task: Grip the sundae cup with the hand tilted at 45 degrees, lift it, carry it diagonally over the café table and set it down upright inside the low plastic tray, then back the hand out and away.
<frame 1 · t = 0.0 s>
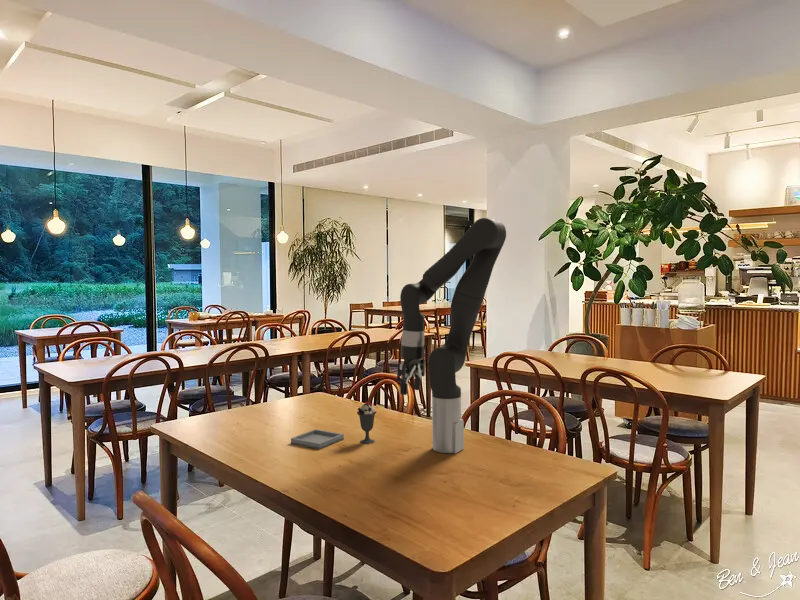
hand: (410, 392, 181), 17 cm above the table, tool pointing down, fingers open, 8 cm apart
tray: (317, 441, 185), on the table
sundae: (367, 442, 184), on the table
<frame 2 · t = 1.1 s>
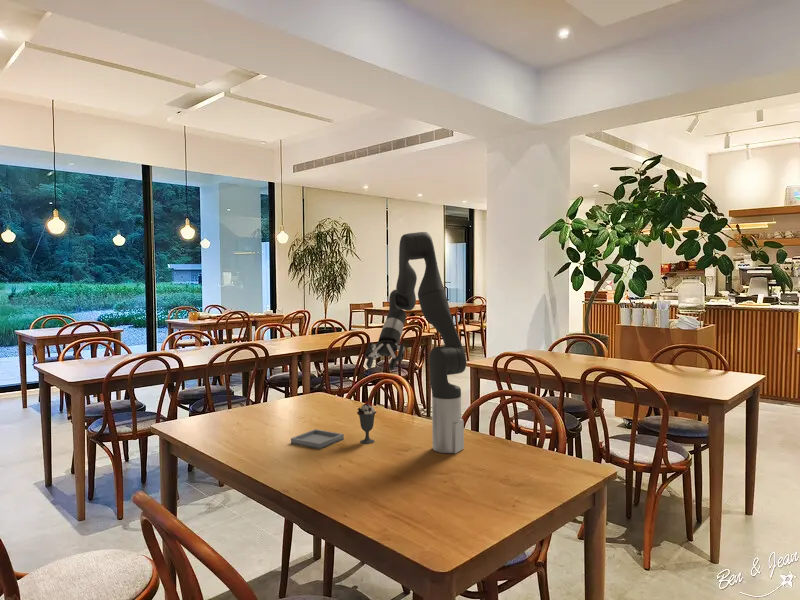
hand: (379, 368, 193), 23 cm above the table, tool tilted 45°, fingers open, 8 cm apart
nothing on the table moved.
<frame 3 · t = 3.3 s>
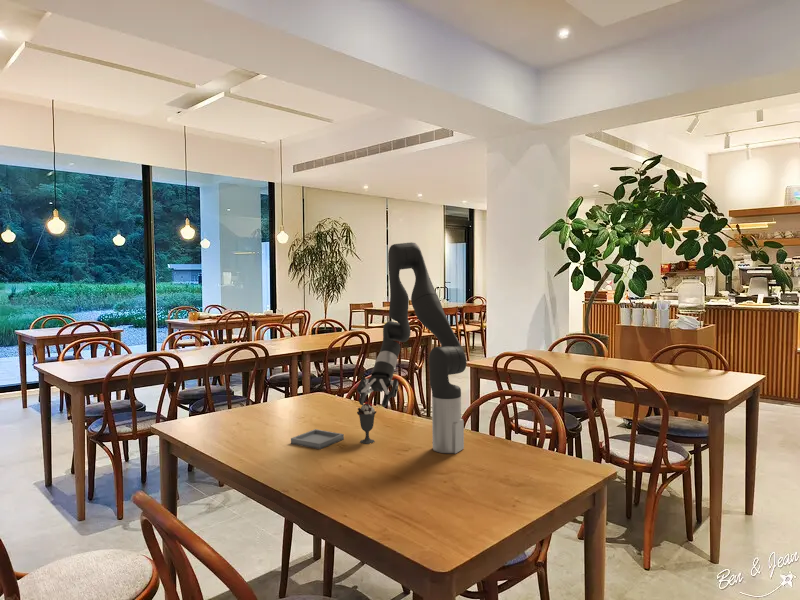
hand: (372, 404, 187), 12 cm above the table, tool tilted 45°, fingers open, 8 cm apart
nothing on the table moved.
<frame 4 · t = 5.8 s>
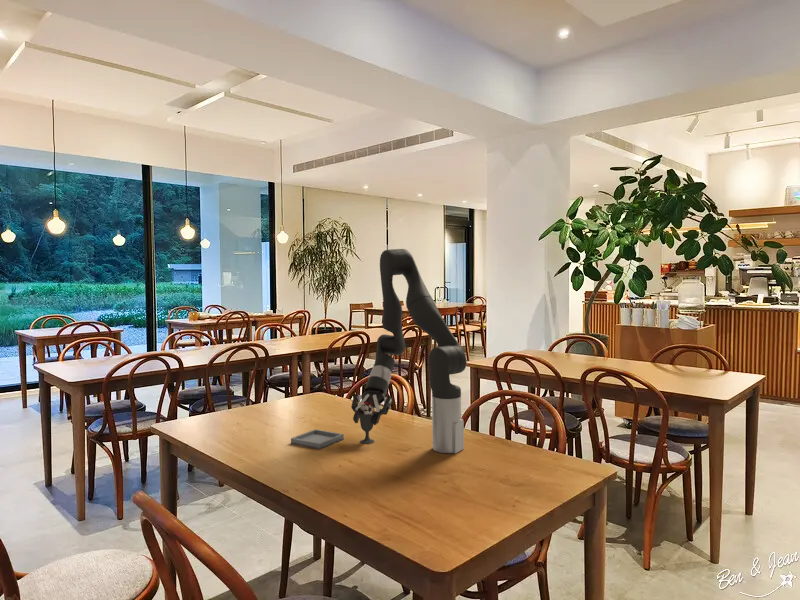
hand: (364, 422, 182), 7 cm above the table, tool tilted 45°, fingers closed on sundae, 6 cm apart
sundae: (367, 442, 184), on the table, touching gripper
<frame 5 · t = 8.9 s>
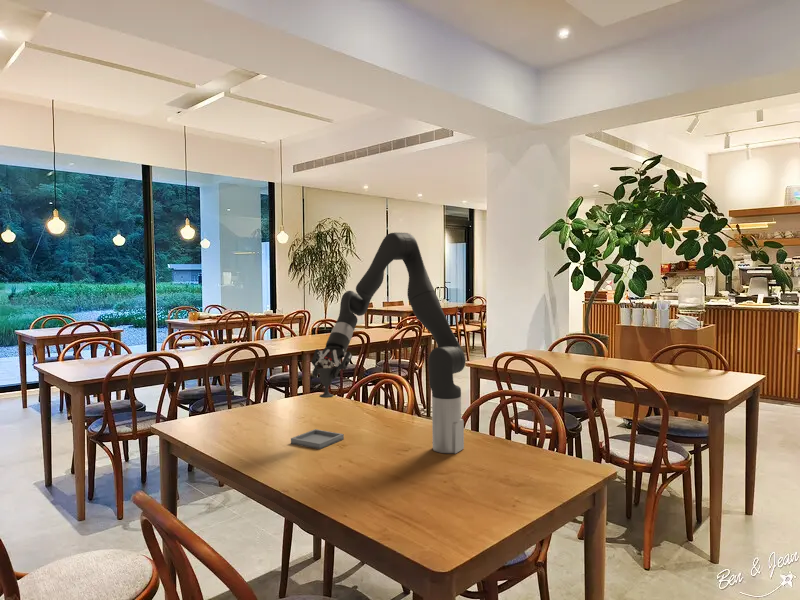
hand: (323, 376, 183), 22 cm above the table, tool tilted 45°, fingers closed on sundae, 6 cm apart
sundae: (326, 396, 185), point 15 cm above the table, touching gripper
when the fingers open (8 cm above the table, at t = 12.0 s): sundae stays where it is, resting on tray.
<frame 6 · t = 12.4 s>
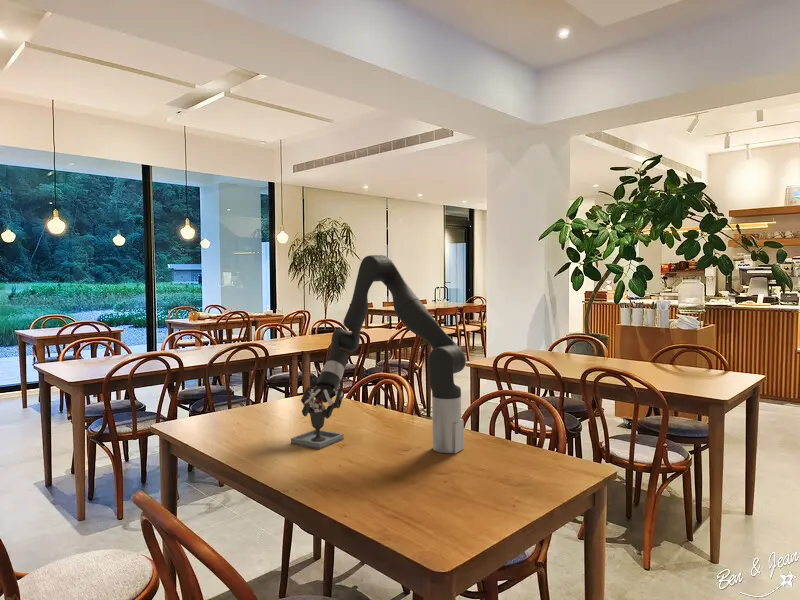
hand: (315, 416, 183), 9 cm above the table, tool tilted 45°, fingers open, 8 cm apart
sundae: (318, 439, 185), resting on tray
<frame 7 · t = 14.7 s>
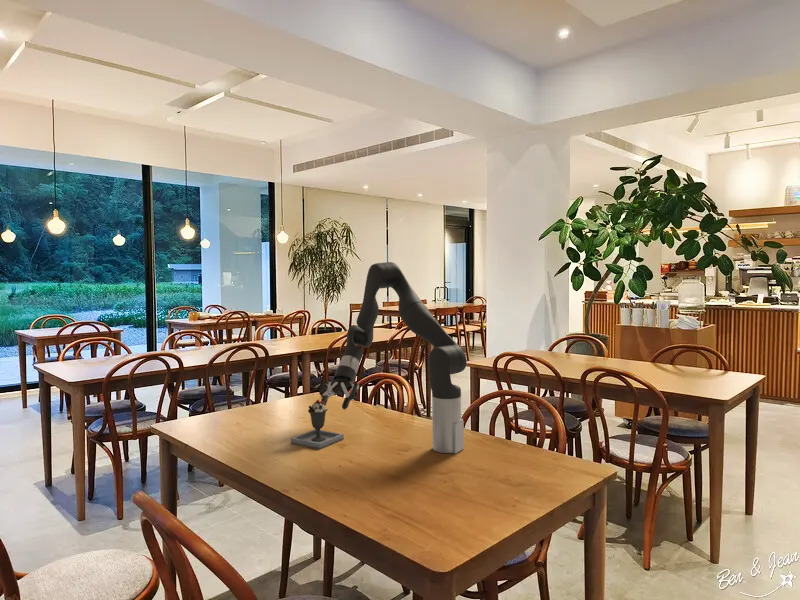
hand: (333, 407, 195), 9 cm above the table, tool tilted 45°, fingers open, 8 cm apart
nothing on the table moved.
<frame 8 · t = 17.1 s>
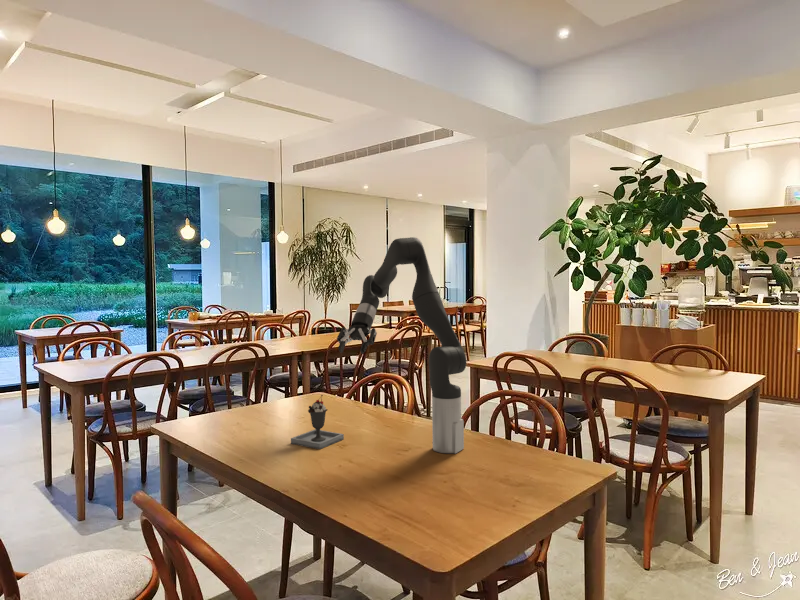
hand: (350, 351, 196), 29 cm above the table, tool tilted 45°, fingers open, 8 cm apart
nothing on the table moved.
at the end: sundae 0.3 cm off-centre on the tray, point 0.4 cm above the tray's base; sundae tilted 0°; the gripper is holding nothing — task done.
